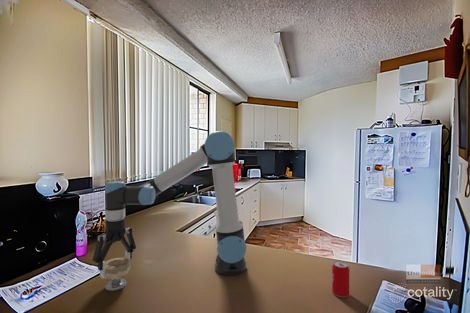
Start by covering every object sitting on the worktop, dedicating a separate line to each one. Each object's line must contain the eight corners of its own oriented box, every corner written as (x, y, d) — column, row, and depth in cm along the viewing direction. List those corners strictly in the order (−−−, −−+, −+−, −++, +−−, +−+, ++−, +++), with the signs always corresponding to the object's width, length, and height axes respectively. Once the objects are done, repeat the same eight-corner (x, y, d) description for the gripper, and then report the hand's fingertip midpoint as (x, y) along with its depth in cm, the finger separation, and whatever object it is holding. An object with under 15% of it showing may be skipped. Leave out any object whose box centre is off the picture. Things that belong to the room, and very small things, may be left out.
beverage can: (344, 289, 100) (344, 260, 99) (352, 298, 93) (352, 267, 93) (329, 289, 99) (329, 260, 99) (336, 299, 93) (336, 267, 93)
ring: (133, 271, 103) (133, 261, 103) (110, 281, 95) (110, 271, 95) (120, 264, 109) (120, 255, 109) (97, 273, 101) (97, 264, 101)
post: (130, 284, 103) (130, 268, 103) (111, 293, 97) (111, 276, 97) (120, 278, 108) (119, 263, 108) (101, 287, 101) (101, 270, 101)
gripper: (134, 212, 113) (134, 259, 114) (81, 223, 95) (82, 280, 95) (144, 214, 109) (144, 264, 109) (91, 227, 90) (91, 287, 91)
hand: (115, 271), depth 102 cm, fingers closed on ring, 10 cm apart
